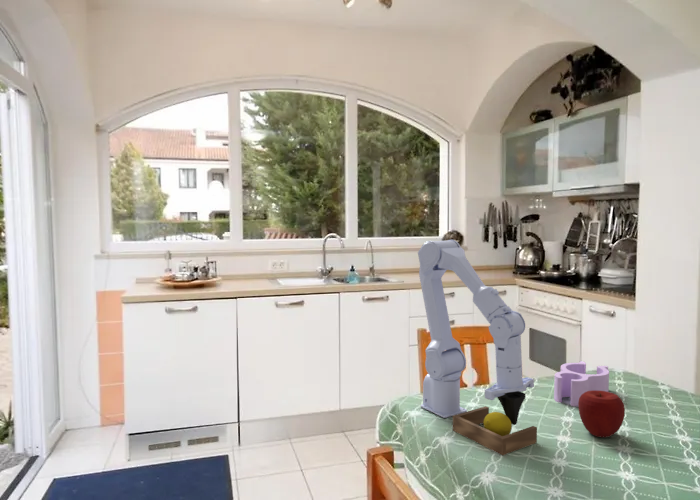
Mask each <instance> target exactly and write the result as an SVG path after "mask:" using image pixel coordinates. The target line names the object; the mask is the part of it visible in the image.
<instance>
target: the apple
mask: <svg viewBox="0 0 700 500" xmlns="http://www.w3.org/2000/svg"><path fill="white" fill-rule="evenodd" d="M577 407H578V413H579V416H580V417H579V418H580V419H581V422H582V423H581V424H583V426H584V428H585V429H586V431H588V433H589V434H591V435H593V436H594V437H597V438H598V437H599V438H610V437H611V436H613V435H615V434H616V433H617V432H618V431H619V430H620V428H621V427H622V425H623V422H624V419H625V413H626V410H625V409H626V408H625V403H624V402H623V400H622V398H620V396H618V395H617V394H616V393H613V392H610V391H609V392H606V391H597V390H593V391H587V392H585V393H583V394H582V395H581V396H580V398H579V402H578V406H577Z"/></svg>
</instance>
